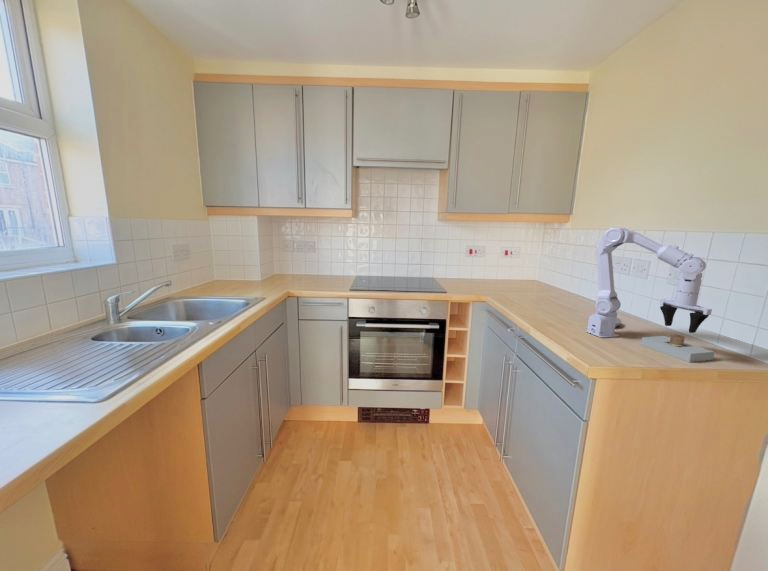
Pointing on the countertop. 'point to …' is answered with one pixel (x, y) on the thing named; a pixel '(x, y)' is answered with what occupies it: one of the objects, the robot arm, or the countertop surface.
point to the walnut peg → (677, 340)
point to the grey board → (678, 349)
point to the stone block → (618, 322)
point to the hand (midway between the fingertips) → (679, 328)
